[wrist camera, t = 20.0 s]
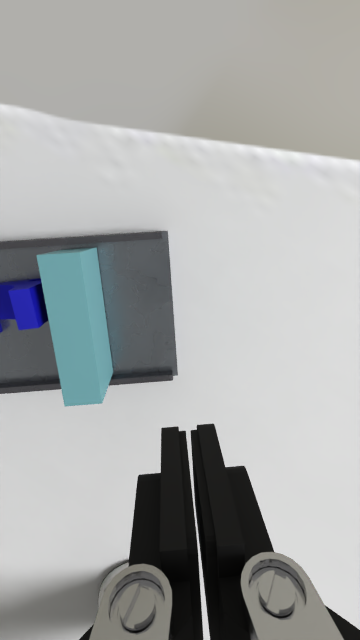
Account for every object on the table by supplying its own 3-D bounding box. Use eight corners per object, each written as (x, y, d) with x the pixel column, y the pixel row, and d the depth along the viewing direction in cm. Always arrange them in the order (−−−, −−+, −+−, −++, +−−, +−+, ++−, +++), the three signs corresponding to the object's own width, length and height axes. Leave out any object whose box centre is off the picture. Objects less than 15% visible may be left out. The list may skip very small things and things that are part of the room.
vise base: (177, 369, 33) (180, 407, 26) (-86, 389, 32) (-157, 435, 25) (167, 230, 29) (168, 231, 22) (-132, 250, 28) (-232, 257, 21)
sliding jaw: (113, 371, 31) (102, 403, 26) (82, 374, 31) (64, 406, 25) (96, 247, 28) (79, 252, 22) (62, 249, 28) (36, 255, 22)
